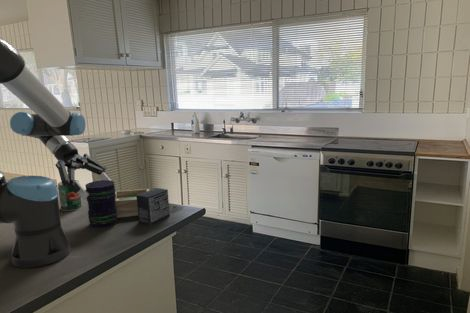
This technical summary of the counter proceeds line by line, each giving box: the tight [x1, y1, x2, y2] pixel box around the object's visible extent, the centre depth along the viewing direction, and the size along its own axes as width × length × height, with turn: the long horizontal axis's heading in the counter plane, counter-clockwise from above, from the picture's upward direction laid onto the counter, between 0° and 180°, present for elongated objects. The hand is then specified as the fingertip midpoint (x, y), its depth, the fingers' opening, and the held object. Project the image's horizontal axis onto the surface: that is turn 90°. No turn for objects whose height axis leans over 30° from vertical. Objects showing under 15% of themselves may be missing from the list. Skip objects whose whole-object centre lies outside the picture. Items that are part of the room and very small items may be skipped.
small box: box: [136, 187, 171, 226], centre depth 129 cm, size 11×6×10 cm, turn 149°
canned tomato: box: [57, 179, 83, 212], centre depth 143 cm, size 8×8×11 cm
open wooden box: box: [115, 188, 150, 218], centre depth 139 cm, size 14×14×6 cm
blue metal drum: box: [85, 180, 119, 230], centre depth 125 cm, size 10×10×15 cm
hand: (100, 191), depth 126 cm, fingers open, 13 cm apart
